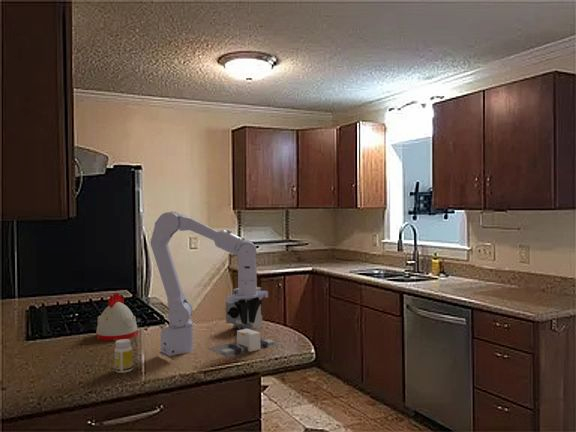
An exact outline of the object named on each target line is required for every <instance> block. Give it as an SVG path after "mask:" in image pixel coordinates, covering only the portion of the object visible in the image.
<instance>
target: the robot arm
mask: <svg viewBox="0 0 576 432" xmlns="http://www.w3.org/2000/svg"><path fill="white" fill-rule="evenodd" d="M178 231H179V232H182V231H191V232H193V233H195V234H199V235H200V236H202V237H205V238H207V239H210V240H212V241H213V242H214V244H215V247H217V248H218V249H221V250H222V251H225V252H227V253H229V254H231V255H237V257H238V265H237V278H238V279H237V280H238V281H237V285H238V287H237V288H238V294H234V295H233V294H231V295H226V296H225V297H226V298H225V299H226V301H225V303H226V302H227V303H232V302H234V304H235V306H236V308H237V310H238V312H239V315H240V318H241V323H242V324H247V313H248V315H249V322H251V323H254V322H255V318H256V314H257V311H258V308H259V306H260V304H261V305H262V299H263V298H266V299H267V298H269V291H267V290H261V291H257V287H258V286H257V285H258V284H257V279H258V277H257V259H256V256H257V247H256V245H255V244H254V242H252V241H251V240H248V239H247V240H246V238H245V237H244V236H242V237H241V236H238V235H236V234H234V233H232V230H230V229H227V230H226V229H222V230H219V231H218V230H216V229H214V228H212V227H210V226H208V225H206V224H204V223H203V222H201V221H198V220H197V219H195V218H193V217H192V216H191V217H190V216H188V215H185V214H183V213H182V214H180V213H179V212H176V211H167V212H163V213H162V214H161V215H160V216H159V217H158V218H157V220H156V221H155V222H154V228H153V232H152V235H151V238H150V242H149V243H150V247H151V250H152V254H153V255H154V260H155V263H156V266H157V268H158V272H159V275H160V279H161V283H162V284H163V287H164V291H165V294H166V298H167V299H166V300H167V307H168V315H167V316H168V318H167V319H168V322H169V323H168V326H166V327H163V328H161V330H160V352H159V354H160V355H163V356H164V357H166V358H168V359H171V360H172V359H173V358H172V357H171V356H176V355H180V354H188V353H191V352H193V351H194V331H193V330H194V329H193V328H194V324H193V321H192V320H191V316H192V315H193V310H194V309H193V306H192V304H191V303H190V302H189V301H188V300H187V297H186V295H185V293H184V291H183V289H182V286H181V282H180V279H179V276H178V272H177V270H176V266H175V263H174V259H173V257H172V254H171V250H170V247H169V242H170V241H171V239H172V238H173V236H174V235H175V234H176V233H177V232H178ZM244 298H245V299H244ZM259 298H262V299H261V300H260V299H259ZM245 300H246V301H247V303H246V301H245Z"/></svg>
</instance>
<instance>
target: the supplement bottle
mask: <svg viewBox="0 0 576 432" xmlns="http://www.w3.org/2000/svg"><path fill="white" fill-rule="evenodd" d="M133 367H134V366H133V347H132V346H131V339H130V338H128V339H121V340H115V348H114V372H116V373H118V374H119V373H120V374H124V373H129V372H131V371H132V370H133Z"/></svg>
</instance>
